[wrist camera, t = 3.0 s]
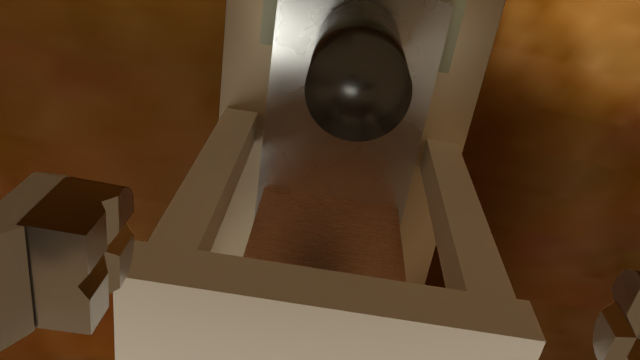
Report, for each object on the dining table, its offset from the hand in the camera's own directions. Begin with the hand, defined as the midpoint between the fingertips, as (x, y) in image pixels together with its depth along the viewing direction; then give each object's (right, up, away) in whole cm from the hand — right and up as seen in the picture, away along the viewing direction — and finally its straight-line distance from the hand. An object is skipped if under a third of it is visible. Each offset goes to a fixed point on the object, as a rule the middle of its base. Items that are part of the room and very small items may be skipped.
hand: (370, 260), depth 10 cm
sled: (-1, -2, +18) cm, 18 cm away
